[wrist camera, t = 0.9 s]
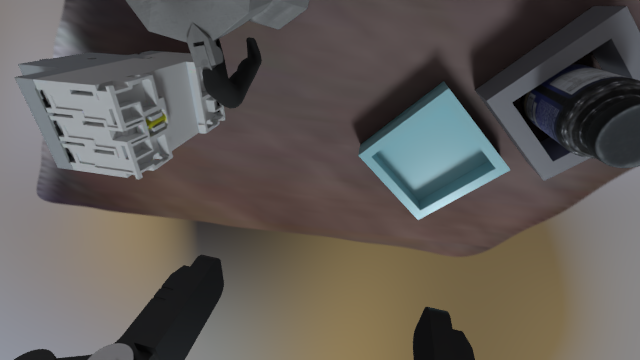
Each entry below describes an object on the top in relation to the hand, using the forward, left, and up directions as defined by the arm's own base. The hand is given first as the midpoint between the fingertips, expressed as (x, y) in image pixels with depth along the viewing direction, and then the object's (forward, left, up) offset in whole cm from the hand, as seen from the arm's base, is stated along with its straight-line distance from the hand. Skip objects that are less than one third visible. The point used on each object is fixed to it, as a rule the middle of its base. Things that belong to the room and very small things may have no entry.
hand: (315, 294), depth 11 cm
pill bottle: (-15, +12, -26) cm, 32 cm away
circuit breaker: (+16, -17, -26) cm, 35 cm away
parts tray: (-2, +9, -25) cm, 27 cm away
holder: (-15, +12, -25) cm, 31 cm away
